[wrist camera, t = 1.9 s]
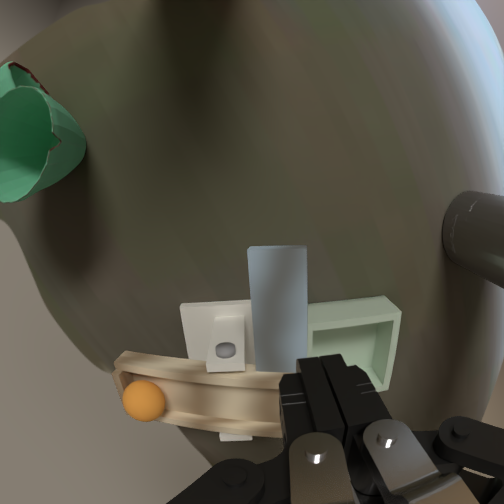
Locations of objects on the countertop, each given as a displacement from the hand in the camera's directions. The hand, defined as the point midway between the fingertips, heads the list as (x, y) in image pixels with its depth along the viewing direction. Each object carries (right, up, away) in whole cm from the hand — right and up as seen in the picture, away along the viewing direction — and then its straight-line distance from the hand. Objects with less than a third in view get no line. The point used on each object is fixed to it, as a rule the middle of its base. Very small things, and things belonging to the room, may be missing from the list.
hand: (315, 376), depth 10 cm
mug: (-23, +18, +17) cm, 33 cm away
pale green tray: (+8, -6, +23) cm, 25 cm away
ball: (-12, -9, +14) cm, 21 cm away
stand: (-4, -6, +23) cm, 24 cm away
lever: (-6, -3, +15) cm, 16 cm away
